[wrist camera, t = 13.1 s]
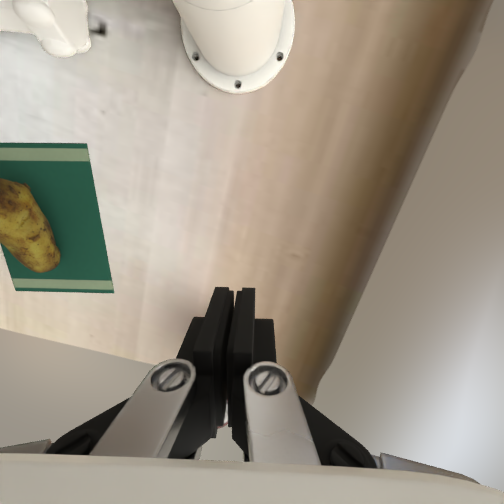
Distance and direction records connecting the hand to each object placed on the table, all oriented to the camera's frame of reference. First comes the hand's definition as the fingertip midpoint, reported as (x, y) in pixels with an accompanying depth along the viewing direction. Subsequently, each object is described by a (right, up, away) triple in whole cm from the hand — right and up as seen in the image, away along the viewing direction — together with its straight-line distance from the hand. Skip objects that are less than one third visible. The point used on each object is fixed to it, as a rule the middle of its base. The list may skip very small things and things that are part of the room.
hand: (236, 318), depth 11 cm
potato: (-30, +7, +27) cm, 41 cm away
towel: (-29, +7, +27) cm, 41 cm away
